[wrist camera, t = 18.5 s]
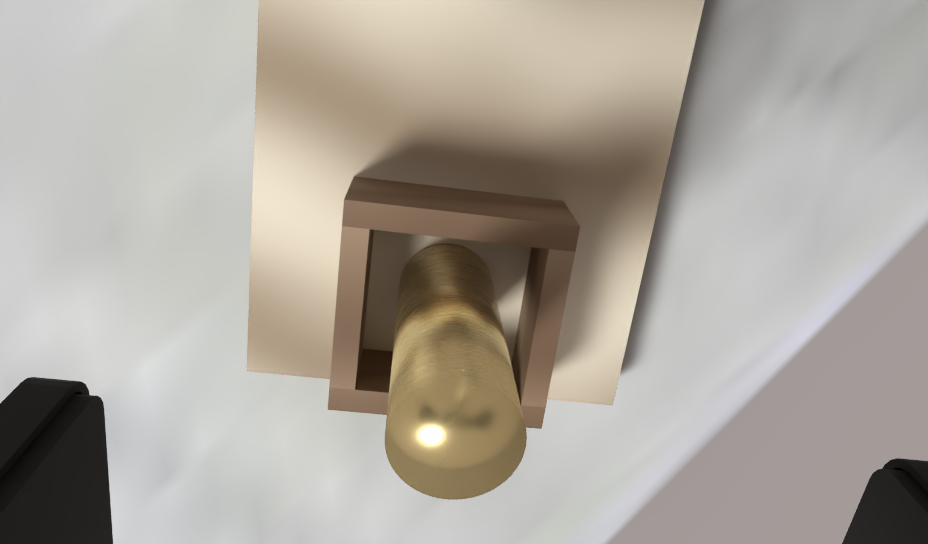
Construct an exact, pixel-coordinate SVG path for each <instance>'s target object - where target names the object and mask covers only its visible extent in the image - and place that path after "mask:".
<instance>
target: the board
mask: <svg viewBox="0 0 928 544" xmlns="http://www.w3.org/2000/svg"><path fill="white" fill-rule="evenodd" d="M704 2H705V0H259V14H258V45H257V75H256V105H255V135H254V166H253V196H252V226H251V257H250V287H249V317H248V348H247V371H250V372H260V373H271V374H282V375H292V376H303V377H314V378H325V379H330V388H329V401H328V410H339V411H350V412H361V413H372V414H383V415H387V409H388V398H389V388H390V377H391V367H392V356H393V346H394V335H395V325H396V314H397V304H398V293H399V283H400V277H401V274H402V271H403V269H404V267H405V265H406V264H407V262H408V261H409V260H410V259H411V257H413V256H414V255H415V254H416V253H417V252H419V251H420V250H422V249H424V248H426V247H428V246H431V245H435V244H440V243H452V244H458V245H461V246H464V247H467V248H469V249H471V250H472V251H474V252H475V253H476V254H478V255H479V256H480V257H481V258H482V259H483V261H484V262H485V263H486V265H487V267H488V269H489V271H490V274H491V278H492V282H493V287H494V291H495V295H496V300H497V304H498V308H499V313H500V317H501V322H502V326H503V330H504V335H505V339H506V344H507V348H508V352H509V357H510V361H511V366H512V370H513V374H514V379H515V383H516V387H517V392H518V396H519V401H520V405H521V409H522V414H523V418H524V423H525V427H528V428H539V429H541V428H542V423H543V418H544V413H545V408H546V402H547V399H550V400H560V401H571V402H582V403H592V404H603V405H613V402H614V397H615V393H616V389H617V384H618V380H619V375H620V371H621V367H622V362H623V358H624V353H625V349H626V345H627V340H628V336H629V332H630V327H631V323H632V318H633V314H634V310H635V305H636V301H637V296H638V292H639V288H640V283H641V279H642V274H643V270H644V266H645V261H646V257H647V252H648V248H649V244H650V239H651V235H652V230H653V226H654V222H655V217H656V213H657V208H658V204H659V200H660V195H661V191H662V186H663V182H664V178H665V173H666V169H667V164H668V160H669V156H670V151H671V147H672V142H673V138H674V134H675V129H676V125H677V120H678V116H679V112H680V107H681V103H682V98H683V94H684V90H685V85H686V81H687V76H688V72H689V68H690V63H691V59H692V54H693V50H694V46H695V41H696V37H697V32H698V28H699V24H700V19H701V15H702V10H703V6H704Z"/></svg>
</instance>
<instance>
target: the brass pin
mask: <svg viewBox="0 0 928 544" xmlns="http://www.w3.org/2000/svg"><path fill="white" fill-rule="evenodd" d="M526 439H527V437H526V427H525V423H524V418H523V414H522V409H521V405H520V401H519V396H518V392H517V387H516V383H515V379H514V374H513V370H512V366H511V361H510V357H509V352H508V348H507V344H506V339H505V335H504V330H503V326H502V322H501V317H500V313H499V308H498V304H497V300H496V295H495V291H494V287H493V282H492V278H491V274H490V271H489V269H488V267H487V265H486V263H485V262H484V261H483V259H482V258H481V257H480V256H479V255H478V254H476V253H475V252H474V251H472V250H471V249H469V248H467V247H464V246H461V245H458V244H452V243H440V244H435V245H431V246H428V247H426V248H424V249H422V250H420V251H419V252H417V253H416V254H415V255H414V256H413V257H411V259H410V260H409V261H408V262H407V264H406V265H405V267H404V269H403V271H402V274H401V277H400V283H399V293H398V304H397V314H396V325H395V335H394V346H393V356H392V367H391V377H390V388H389V398H388V409H387V419H386V430H385V448H386V453H387V457H388V460H389V462H390V464H391V466H392V468H393V469H394V471H395V472H396V473H397V475H398V476H399V477H400V478H401V479H402V480H403V481H404V482H405V483H406V484H408V485H409V486H411V487H412V488H414V489H415V490H417V491H419V492H421V493H423V494H426V495H429V496H432V497H436V498H442V499H466V498H471V497H476V496H479V495H482V494H484V493H487V492H489V491H491V490H493V489H494V488H496V487H498V486H499V485H501V484H502V483H503V482H505V481H506V480H507V479H508V478H509V477H510V476H511V475H512V474H513V472H514V471H515V470H516V468H517V467H518V465H519V463H520V462H521V460H522V457H523V455H524V451H525V447H526Z"/></svg>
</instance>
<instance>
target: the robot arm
mask: <svg viewBox="0 0 928 544" xmlns="http://www.w3.org/2000/svg"><path fill="white" fill-rule="evenodd" d="M0 544H113V537H112V522H111V507H110V492H109V477H108V462H107V447H106V432H105V417H104V406H103V401H102V399H101V398H100V397H98V396H91V395H89V390H88V388H87V386H86V384H84V383H83V382H79V381H68V380H57V379H47V378H36V377H31V378H27V379H25V380H24V381H23V382H21V383H20V384H19V385H18V386H17V387H16V388H15V389H14V390H13V391H12V392H11V393H10V394H9V395H8V396H7V397H6V398H5V399H4V400H3V401H2V402H1V403H0ZM842 544H928V461H919V460H908V459H893V460H890V461H889V462H888V463H887V464H885V465H884V467H883V469H879V470H877V471H875V472H874V473H873V474H872V476H871V478H870V479H869V482H868V484H867V486H866V489H865V491H864V493H863V496H862V498H861V501H860V503H859V505H858V508H857V510H856V512H855V515H854V517H853V520H852V522H851V524H850V527H849V529H848V531H847V533H846V536H845V538H844V541H843V543H842Z"/></svg>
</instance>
